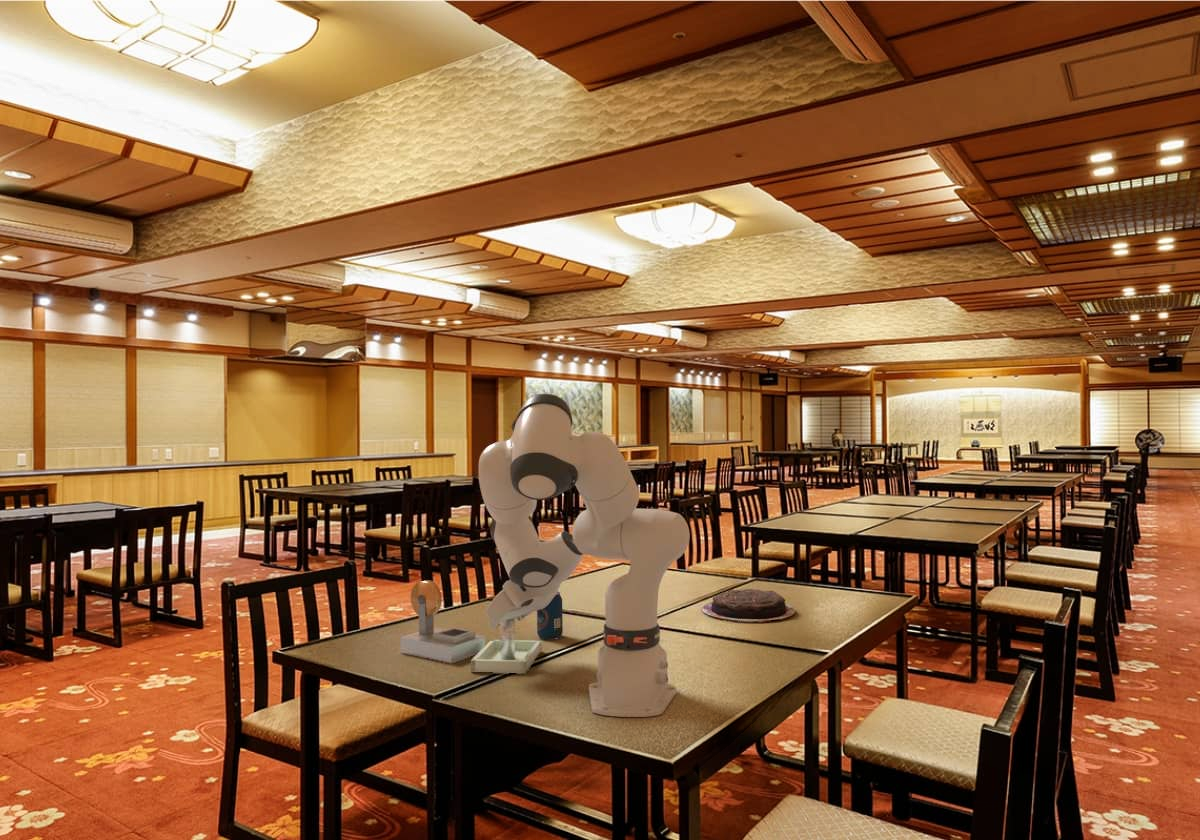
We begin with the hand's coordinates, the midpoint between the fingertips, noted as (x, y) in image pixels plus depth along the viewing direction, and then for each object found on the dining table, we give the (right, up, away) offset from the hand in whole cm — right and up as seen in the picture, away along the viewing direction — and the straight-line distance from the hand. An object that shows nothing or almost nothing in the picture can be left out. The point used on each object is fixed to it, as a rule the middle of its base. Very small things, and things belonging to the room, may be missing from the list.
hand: (505, 622), depth 189 cm
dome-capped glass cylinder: (+1, -9, 0) cm, 9 cm away
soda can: (+10, -10, +22) cm, 26 cm away
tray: (+1, -9, -1) cm, 9 cm away
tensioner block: (-18, -10, +9) cm, 22 cm away
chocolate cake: (+68, -10, +47) cm, 84 cm away
